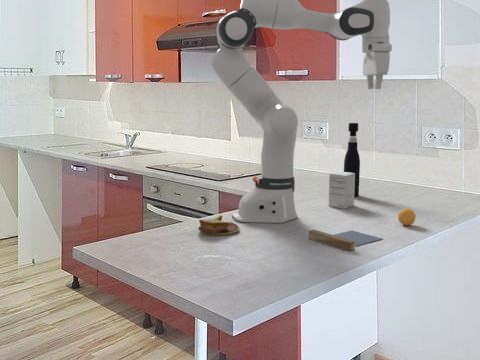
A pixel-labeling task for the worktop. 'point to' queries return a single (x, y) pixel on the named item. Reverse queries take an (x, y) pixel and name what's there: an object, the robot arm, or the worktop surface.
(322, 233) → the rail
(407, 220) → the ball
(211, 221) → the toy sandwich meal
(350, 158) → the wine bottle
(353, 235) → the slate square
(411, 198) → the worktop surface
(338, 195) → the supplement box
